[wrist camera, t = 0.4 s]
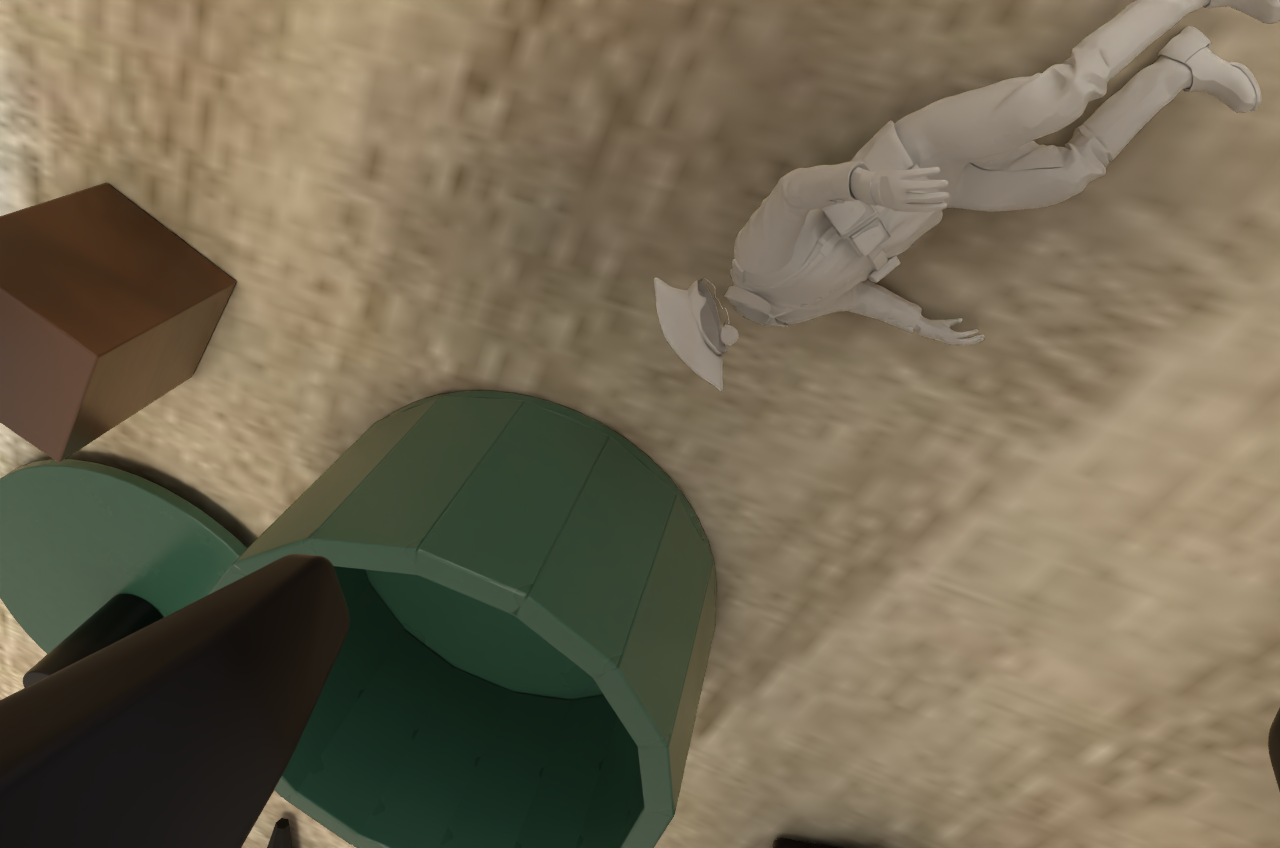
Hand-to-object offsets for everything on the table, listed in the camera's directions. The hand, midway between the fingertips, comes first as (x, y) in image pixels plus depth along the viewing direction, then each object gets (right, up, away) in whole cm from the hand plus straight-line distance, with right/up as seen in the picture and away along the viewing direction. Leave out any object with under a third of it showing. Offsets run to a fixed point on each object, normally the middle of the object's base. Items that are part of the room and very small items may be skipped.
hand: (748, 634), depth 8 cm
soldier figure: (+6, +8, +11) cm, 15 cm away
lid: (-21, -6, +26) cm, 34 cm away
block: (-17, +6, +18) cm, 25 cm away
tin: (-5, -3, +20) cm, 21 cm away
